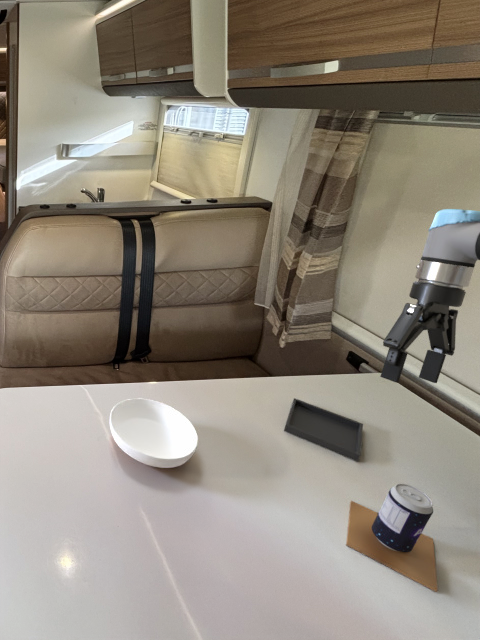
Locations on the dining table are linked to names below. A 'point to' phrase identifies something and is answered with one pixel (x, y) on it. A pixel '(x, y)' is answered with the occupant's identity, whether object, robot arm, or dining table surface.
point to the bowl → (153, 432)
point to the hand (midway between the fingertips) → (408, 380)
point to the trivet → (407, 563)
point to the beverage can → (402, 517)
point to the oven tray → (325, 429)
